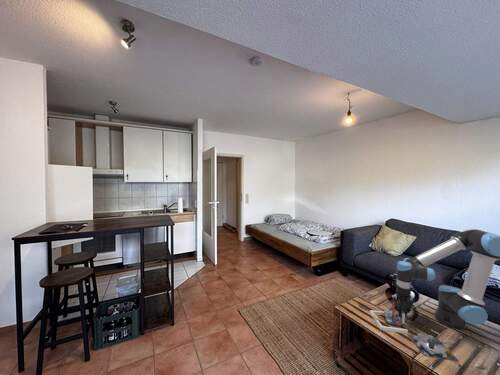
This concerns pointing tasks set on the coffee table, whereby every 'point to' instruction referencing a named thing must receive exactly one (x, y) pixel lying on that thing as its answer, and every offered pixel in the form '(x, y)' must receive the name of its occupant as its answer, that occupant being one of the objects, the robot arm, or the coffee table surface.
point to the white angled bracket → (373, 314)
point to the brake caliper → (392, 317)
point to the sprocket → (432, 345)
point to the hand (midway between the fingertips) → (402, 322)
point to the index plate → (426, 354)
